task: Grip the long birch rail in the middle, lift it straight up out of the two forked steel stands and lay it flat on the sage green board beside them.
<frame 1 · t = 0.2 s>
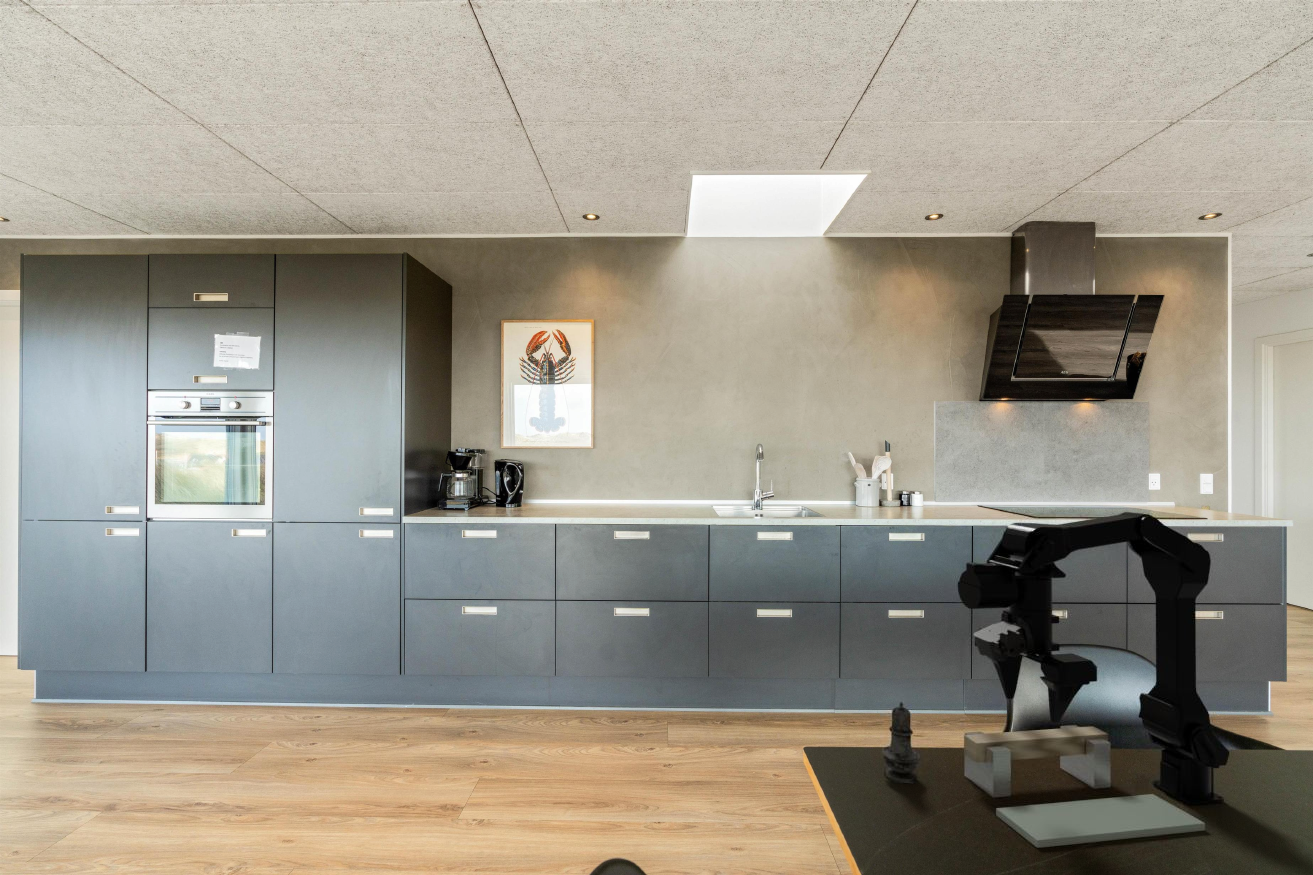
hand: (1031, 709, 100), 14 cm above the table, tool pointing down, fingers open, 9 cm apart
birch rail: (1036, 753, 106), point 4 cm above the table, touching steel stands
sage board: (1098, 822, 94), on the table
steel stands: (1036, 781, 106), on the table
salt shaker: (900, 776, 107), on the table
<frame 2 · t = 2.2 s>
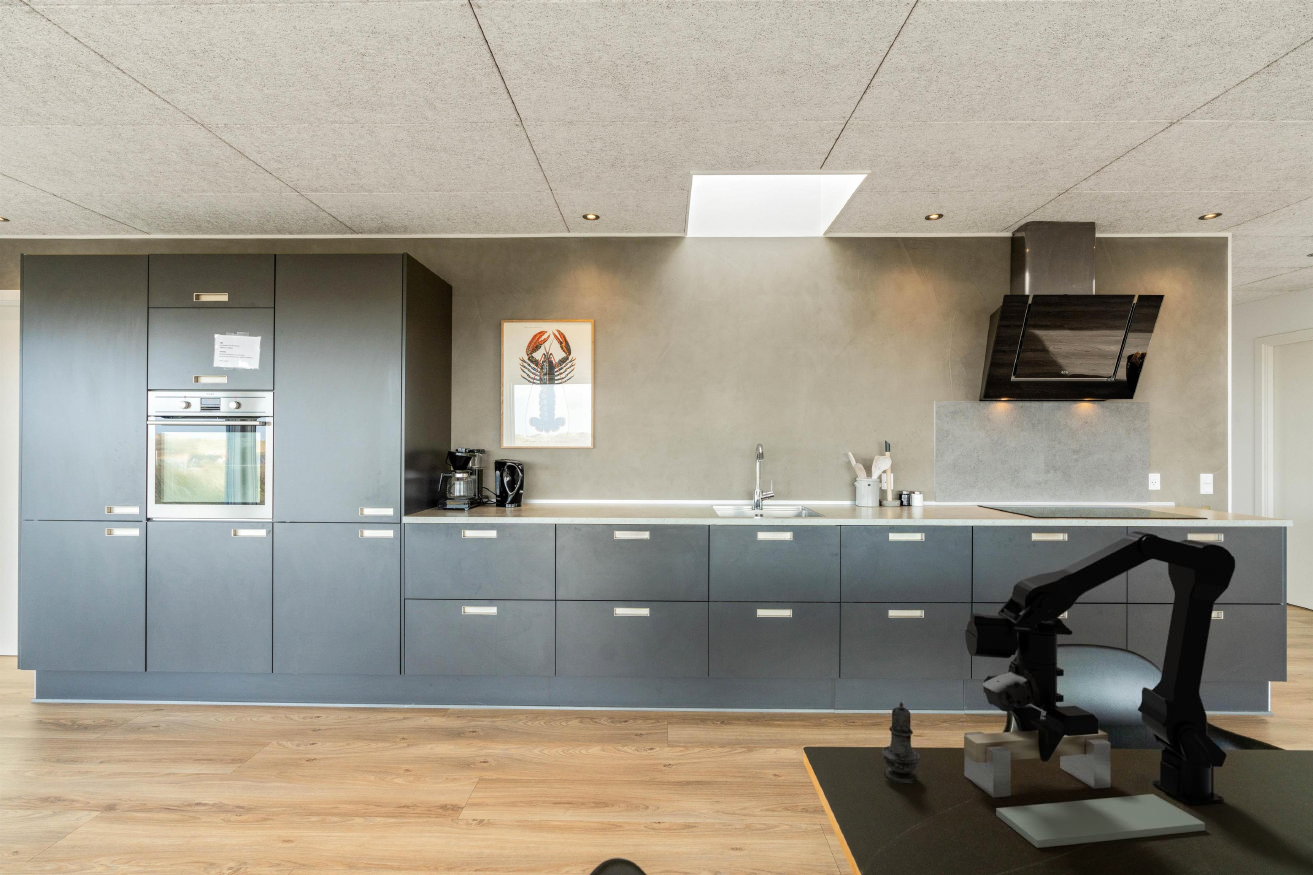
hand: (1036, 756, 106), 4 cm above the table, tool pointing down, fingers closed on birch rail, 3 cm apart
birch rail: (1036, 753, 106), point 4 cm above the table, touching gripper, steel stands
everything else where it was.
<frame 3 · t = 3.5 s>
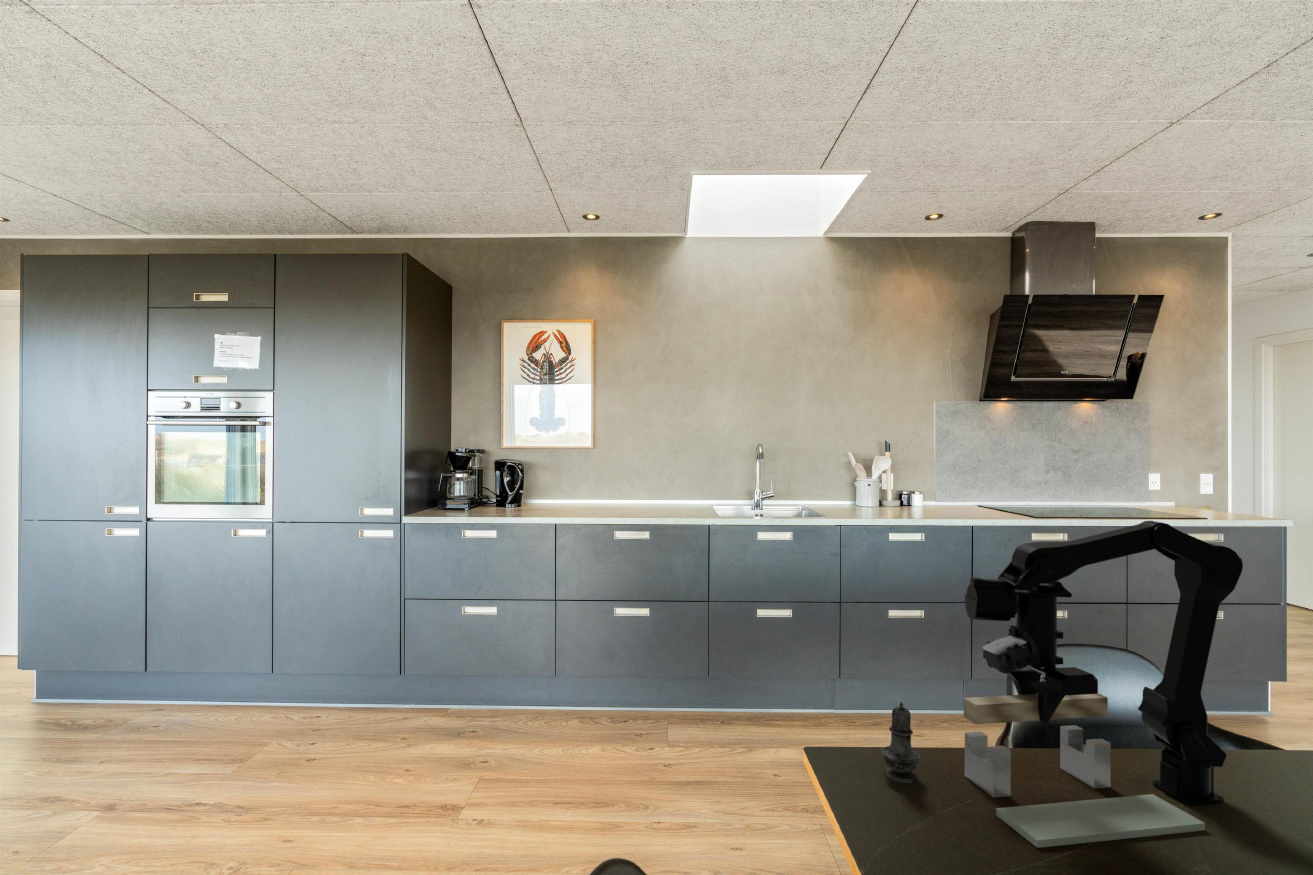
hand: (1036, 719, 106), 10 cm above the table, tool pointing down, fingers closed on birch rail, 3 cm apart
birch rail: (1036, 716, 106), point 10 cm above the table, touching gripper
everything else where it was.
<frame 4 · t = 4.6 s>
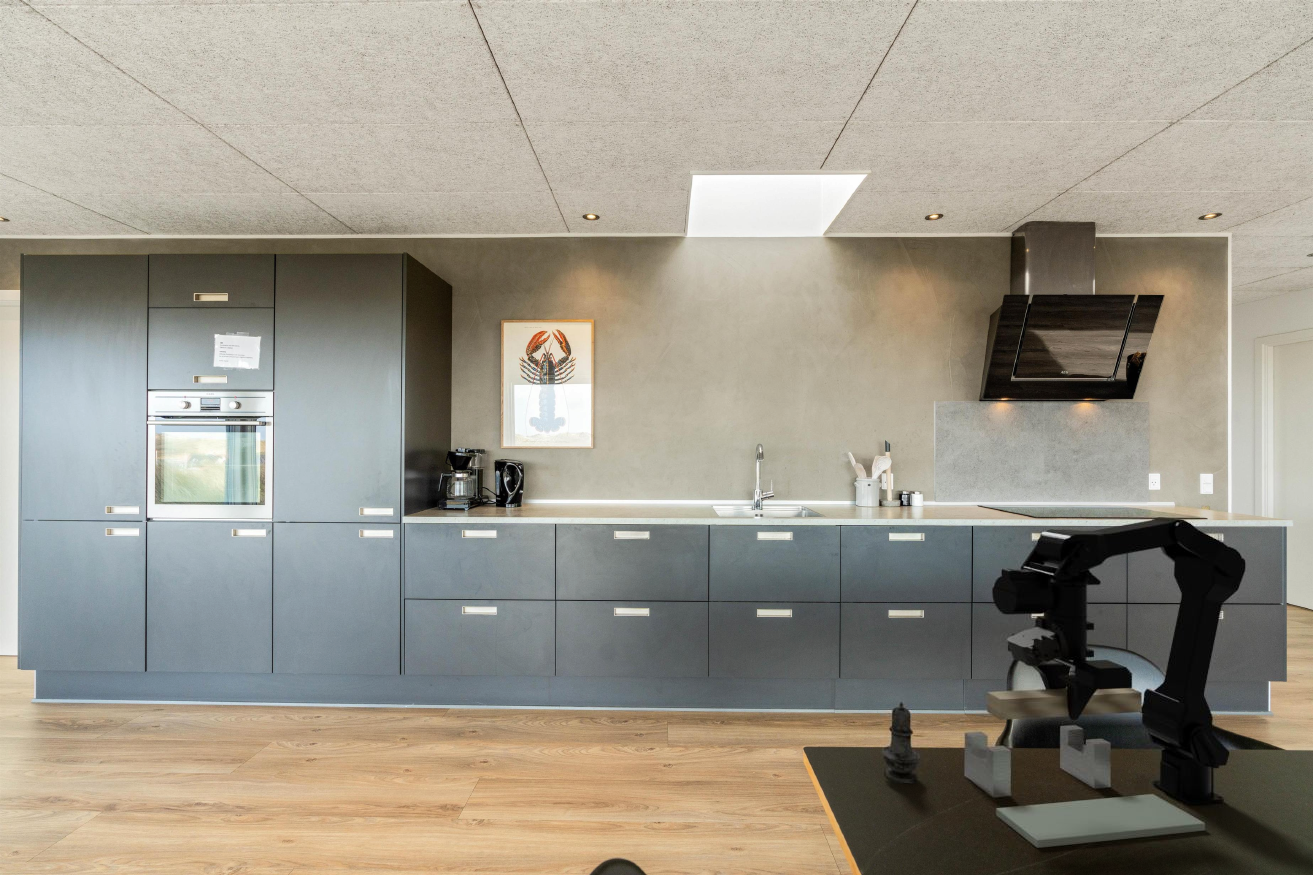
hand: (1065, 715, 101), 13 cm above the table, tool pointing down, fingers closed on birch rail, 3 cm apart
birch rail: (1064, 711, 101), point 13 cm above the table, touching gripper
everything else where it was.
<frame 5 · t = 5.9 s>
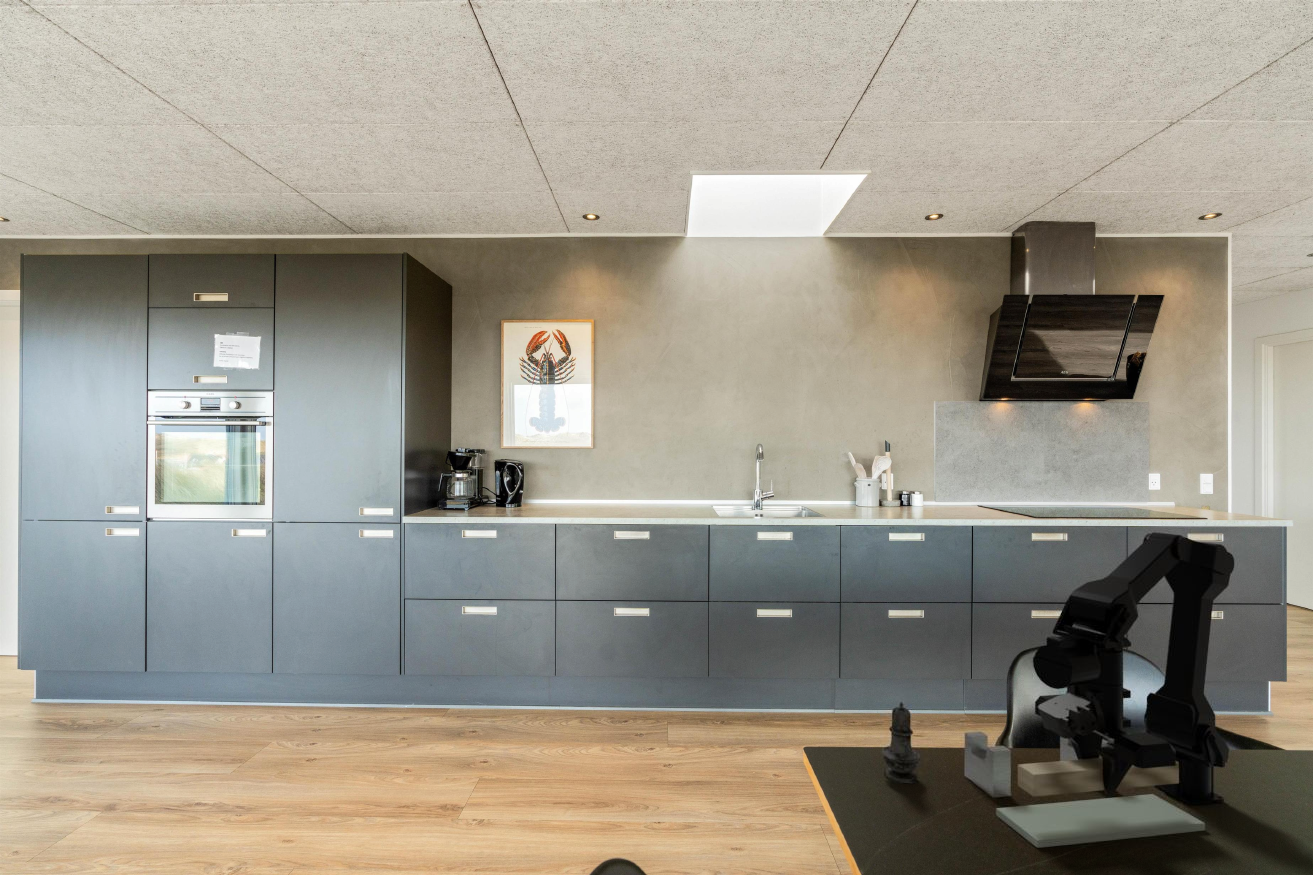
hand: (1099, 787, 95), 5 cm above the table, tool pointing down, fingers closed on birch rail, 3 cm apart
birch rail: (1098, 784, 94), point 5 cm above the table, touching gripper
everything else where it was.
when the fingers open (2 cm above the table, at t = 6.8 s): birch rail drops 1 cm, resting on sage board.
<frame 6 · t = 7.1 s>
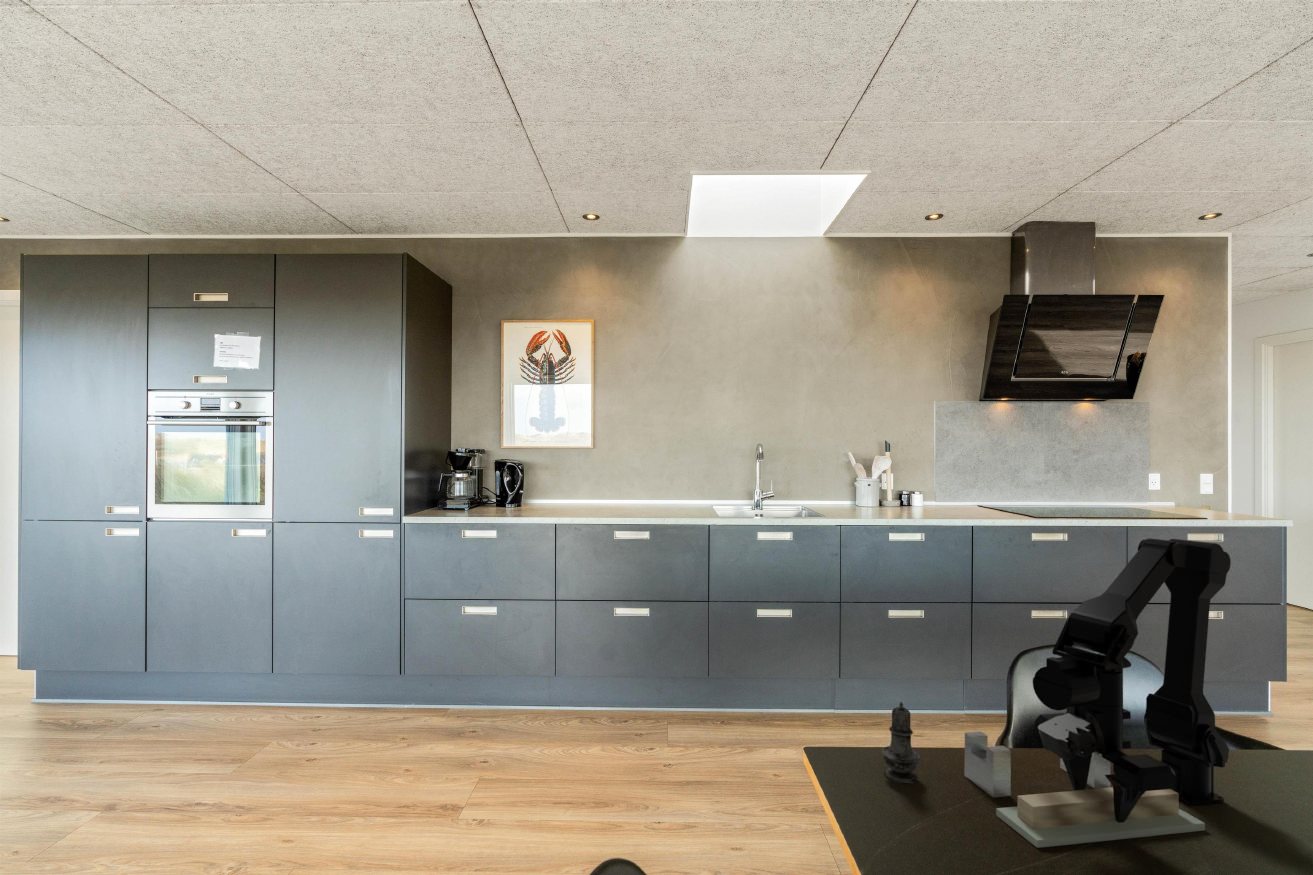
hand: (1099, 808, 94), 2 cm above the table, tool pointing down, fingers open, 7 cm apart
birch rail: (1098, 815, 94), point 1 cm above the table, touching sage board
everything else where it was.
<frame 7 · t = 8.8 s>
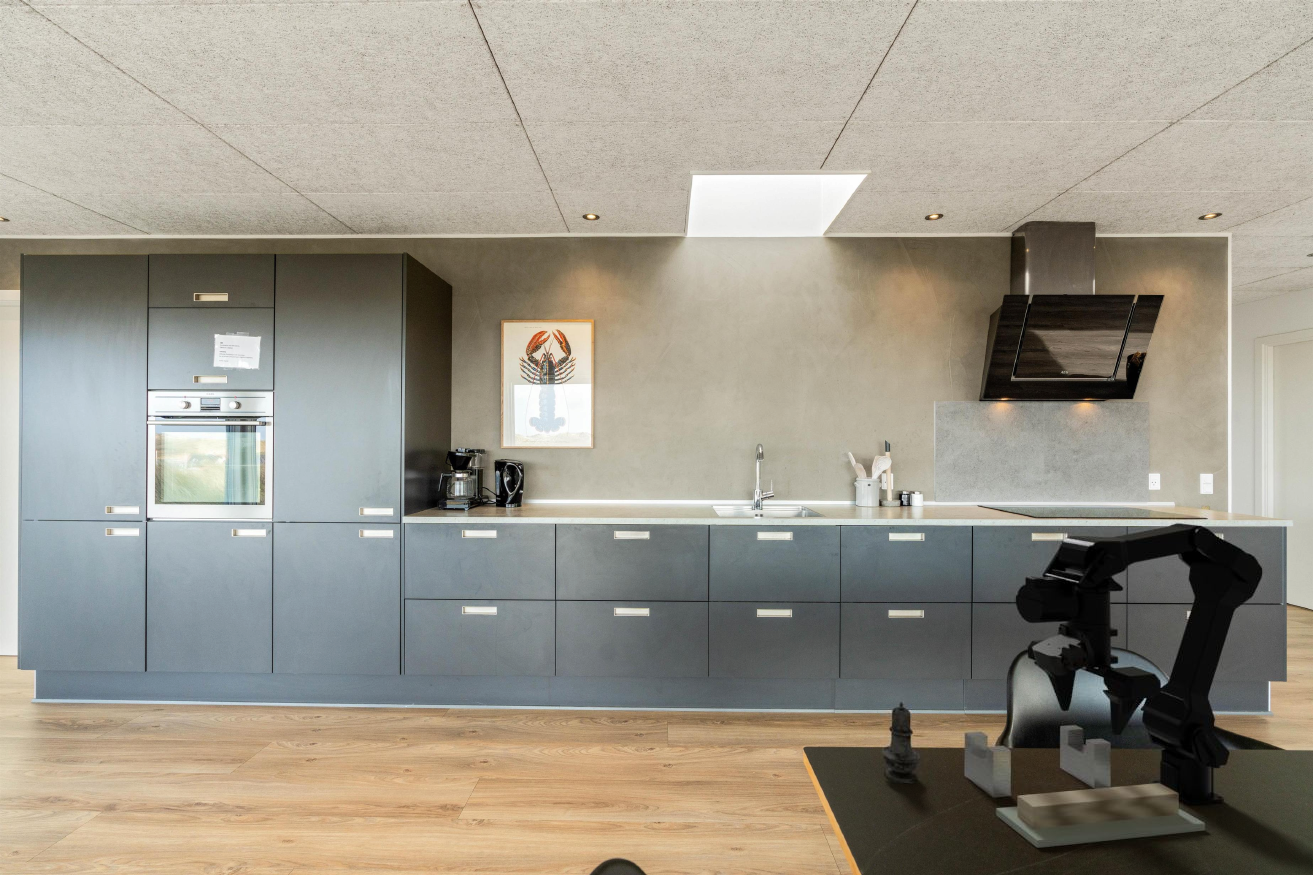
hand: (1089, 722, 101), 12 cm above the table, tool pointing down, fingers open, 9 cm apart
nothing on the table moved.
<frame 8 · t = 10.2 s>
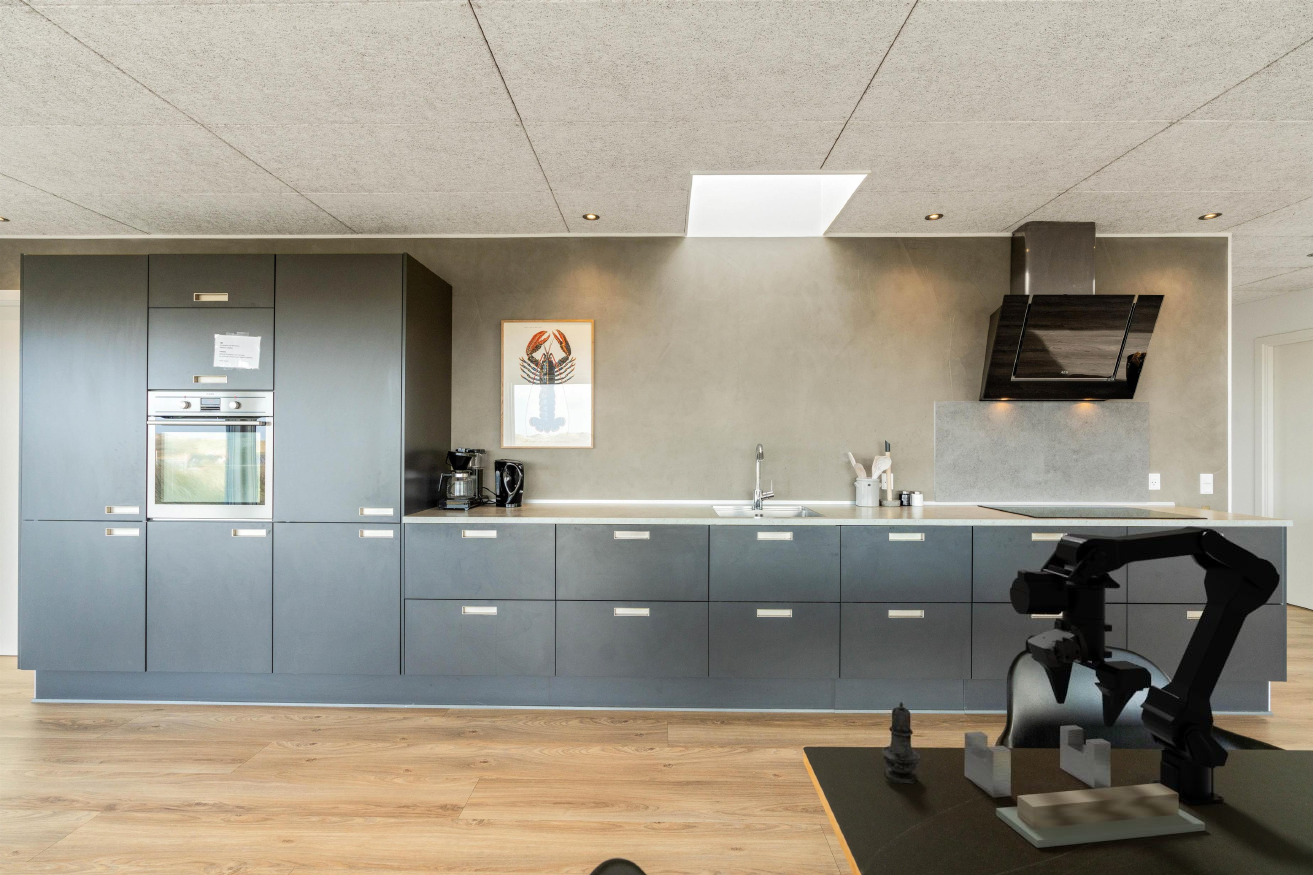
hand: (1083, 714, 103), 12 cm above the table, tool pointing down, fingers open, 9 cm apart
nothing on the table moved.
at the end: birch rail inside the target area on the sage board (0.0 cm from its centre), point 1.0 cm above the sage board's base; birch rail tilted 0°; the gripper is holding nothing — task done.
